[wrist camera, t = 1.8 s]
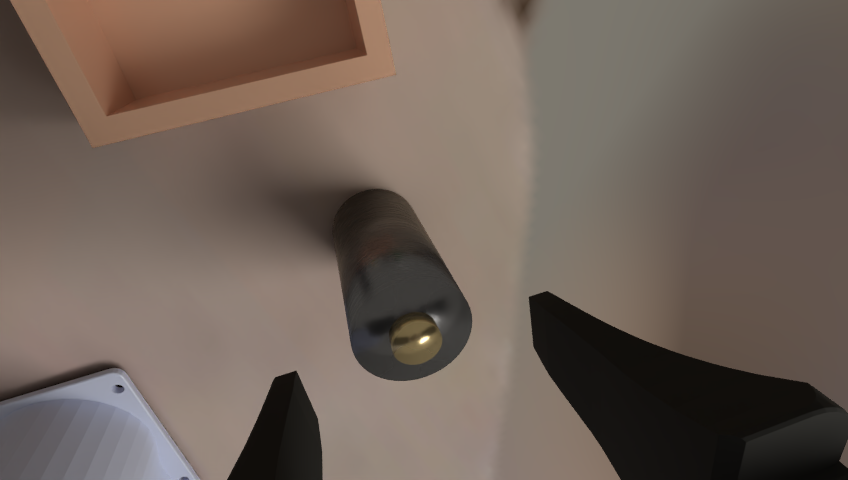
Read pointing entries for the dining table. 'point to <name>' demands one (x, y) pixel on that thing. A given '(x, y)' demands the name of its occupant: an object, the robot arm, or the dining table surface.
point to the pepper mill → (396, 289)
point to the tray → (199, 56)
